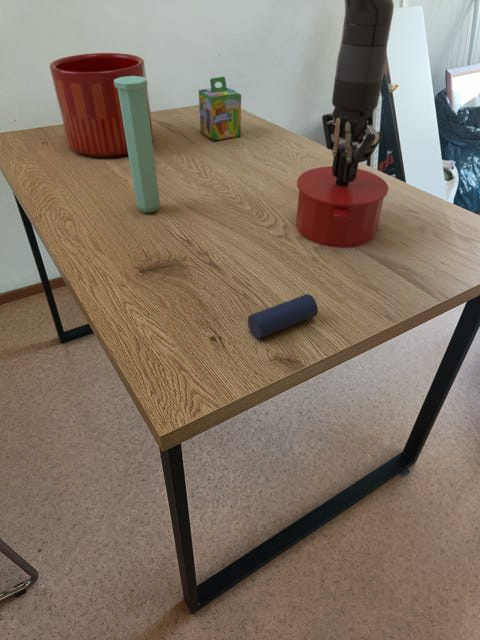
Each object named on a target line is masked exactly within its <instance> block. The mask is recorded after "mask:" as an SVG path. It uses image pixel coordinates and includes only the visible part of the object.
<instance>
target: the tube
mask: <svg viewBox="0 0 480 640" xmlns="http://www.w3.org/2000/svg"><path fill="white" fill-rule="evenodd" d="M318 312H319V307H318V304H317V301H316V299H315V298H314V297H313V295H311V294H309V293H306V294H303V295H301V296H298V297H295V298H292V299H290V300H287V301H285V302H282V303H279V304H276V305H274V306H271V307H268V308H266V309H262V310H260V311H257V312H255V313H251V314H250V315H249V316H247V326H248V328H249V330H250V333H251V334H252V336H253V337H254V338H255V339H257V340H259V339H262V338H264V337H266V336H269V335H271V334H274V333H277V332H279V331H282V330H284V329H287V328H289V327H292V326H295V325H297V324H300V323H303V322H305V321H307V320H309V319H312V318H315V317H316V316H317V315H318V314H319V313H318Z"/></svg>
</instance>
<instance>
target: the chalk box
mask: <svg viewBox="0 0 480 640" xmlns="http://www.w3.org/2000/svg"><path fill="white" fill-rule="evenodd" d="M226 81H227V80H226V77H225V76H219V77H218V76H217V77H211V78H210V79H209V85H210V88H204V89H199V90H198V103H199V104H198V105H199V106H198V107H199V108H198V109H199V124H200V133H201V134H203V135H204V136H205V137H207V138H209V140H211V141H213V142H215V141H221V140H227V139H235V138H241V137H242V136H241V135H242V134H241V133H242V131H241V129H242V128H241V127H242V122H241V121H242V94H240V93H239V92H237V91H236V90H235V89H232V88H229V87H227V82H226ZM217 83H220V84H221V86H219V87H216V84H217Z"/></svg>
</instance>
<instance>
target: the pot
mask: <svg viewBox="0 0 480 640" xmlns="http://www.w3.org/2000/svg"><path fill="white" fill-rule="evenodd" d="M384 199H385V198H383V199H382V200H381V201H379V202H376V203H374V204H370V205H365V206H356V207H344V206H334V205H328V204H324V203H321V202H317V201H315V200H312V199H310V198H308V197H307V196H305V195H304V194H302V193H301V192H300V191H299V190H298V201H297V211H296V221H295V226H296V229H297V231H298V232H299V234H300V235H302V236H303V237H304V238H305V239H307V240H309V241H310V242H312V243H316V244H319V245H322V246H326V247H333V248H352V247H357V246H361V245H364V244H366V243H368V242H370V241H371V240H372V239H373V238H374V237H375V235H376V233H377V230H378V226H379V223H380V222H379V221H380V217H381V213H382V208H383V203H384Z"/></svg>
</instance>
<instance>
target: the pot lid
mask: <svg viewBox="0 0 480 640" xmlns="http://www.w3.org/2000/svg"><path fill="white" fill-rule="evenodd" d="M346 157H347V152H342V153H340V157H339V164H338V171H337V177H335V176H333V175H332V173H333V172H332V166H333V165H331V166H330V165H328V166H320V167H315V168H311V169H309V170H307V171H304V172H303V173H301V174H300V175H299V177H298V178H297V179H296V186H297V189H298V192H299V191H300V192H301V193H302V194H304V195H305V196H307V197H308V198H310V199H312V200H315V201H317V202H321V203H324V204H328V205H334V206H344V207H356V206H365V205H370V204H374V203H376V202H379V201H381V200H382V199H383V198H384V199H385V198H386V196H387V195H388V193H389V185H388V184H387V181H386V180H385V179H383V178H382V177H380V176H379V175H377V174H375V173H373V172H370V171H367V170H365V169H361V168H358V169H357V174H356V178H355V179H354V181H352V182H348V183H345V182H344V181H343V175H344V169H345V162H347V161H346Z"/></svg>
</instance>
